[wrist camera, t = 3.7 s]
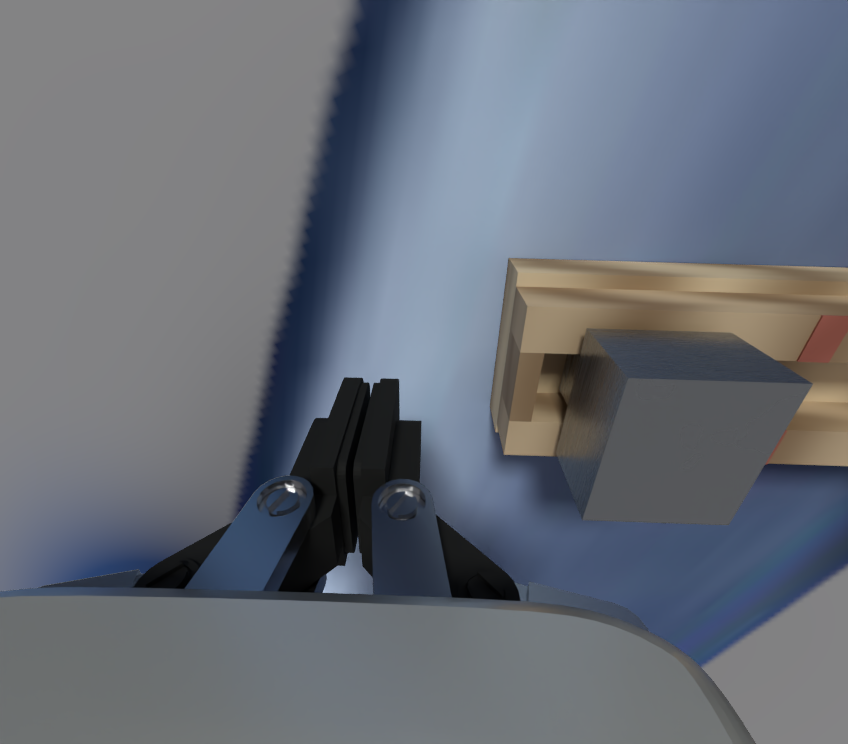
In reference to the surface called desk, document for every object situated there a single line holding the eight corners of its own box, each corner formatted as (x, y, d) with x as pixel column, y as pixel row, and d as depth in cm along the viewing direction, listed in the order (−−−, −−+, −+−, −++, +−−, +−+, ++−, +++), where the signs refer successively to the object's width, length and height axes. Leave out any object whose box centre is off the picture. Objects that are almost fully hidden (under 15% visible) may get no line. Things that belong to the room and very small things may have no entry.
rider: (542, 418, 16) (582, 520, 12) (566, 304, 14) (628, 378, 9) (649, 422, 16) (728, 525, 12) (692, 308, 14) (813, 383, 9)
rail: (489, 409, 19) (502, 469, 15) (508, 258, 15) (530, 291, 12) (888, 422, 19) (993, 486, 15) (1002, 271, 15) (1172, 309, 12)
